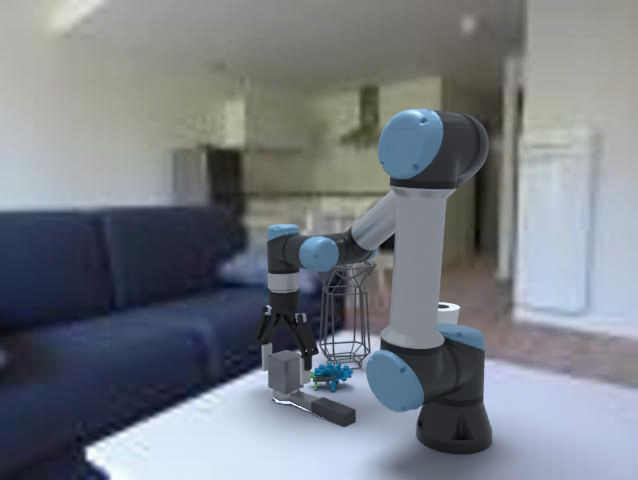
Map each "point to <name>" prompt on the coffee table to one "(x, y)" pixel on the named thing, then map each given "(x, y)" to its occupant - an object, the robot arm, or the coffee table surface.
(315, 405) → the ratchet
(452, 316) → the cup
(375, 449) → the coffee table surface
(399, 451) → the coffee table surface
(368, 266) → the geometric lantern
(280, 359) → the grey rectangular block
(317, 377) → the gear
